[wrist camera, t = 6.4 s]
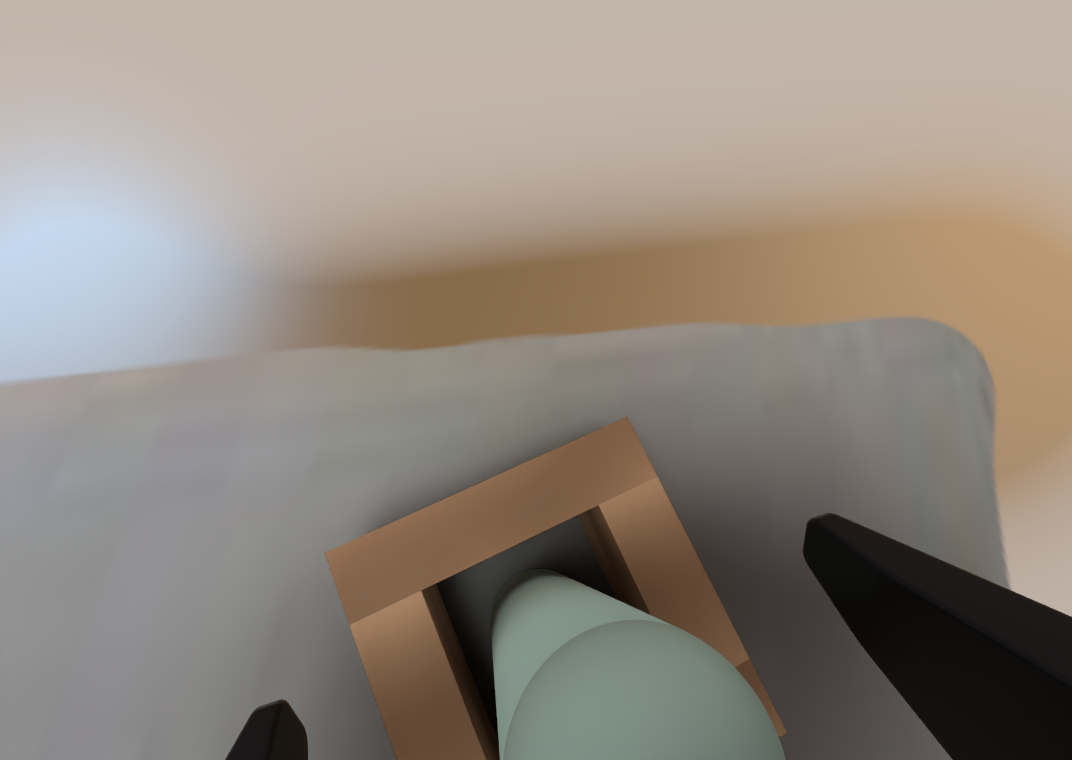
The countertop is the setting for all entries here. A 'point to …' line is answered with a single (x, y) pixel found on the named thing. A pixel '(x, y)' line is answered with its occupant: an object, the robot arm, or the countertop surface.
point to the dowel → (613, 682)
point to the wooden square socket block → (489, 528)
